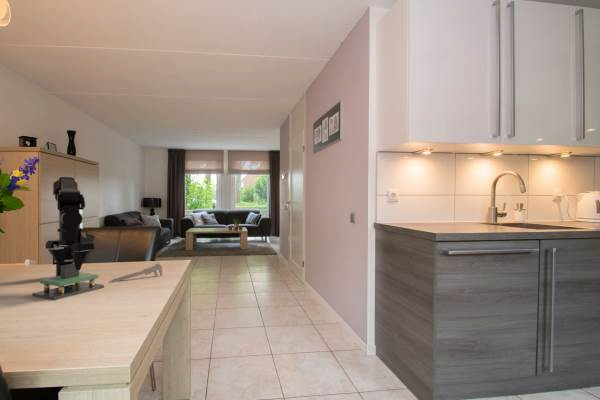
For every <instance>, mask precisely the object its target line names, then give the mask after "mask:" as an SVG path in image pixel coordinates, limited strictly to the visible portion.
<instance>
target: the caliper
mask: <svg viewBox="0 0 600 400" xmlns="http://www.w3.org/2000/svg"><path fill="white" fill-rule="evenodd" d="M157 271H158V272H159V275H160V277H162V276H163V266H162V264H160V262H157V263H154V265H153V266H149V267H146V268H143V270H140V271H136V272H132V273H131V272H130V273H129V274H124V275H121V276H118V277H114V278H112V280H109V283H117V282H121V281H125V280H127V279H130V278H131V279H132V278H135V277H138V276H141V275H145V276H147V275H150V274H152V273H153V274H154V276H155V277H158V272H157Z"/></svg>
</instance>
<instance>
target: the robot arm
mask: <svg viewBox="0 0 600 400" xmlns="http://www.w3.org/2000/svg"><path fill="white" fill-rule="evenodd" d="M52 196H54V199H55V200H56V204H57V211H58V212H59V213H58V217H59V218H58V221H59V222H58V228H57V233H58V234H59V235H58V239H51V240H47V242H45V249H47V250H48V252H49V253H50V254H51V256H52V257H51V258H52V259H51V260H52V266H53V265H55V275H54V277H57V276H61V265H67V264H75V267H76V270H79V271H80V270H81V269H82V265H83V263H84V260H85V258H86V256H87V255H88V254H89V253H90V252H92V250H95V249H96V248H95V243H94V241H95V238H96V235H94V234H90V233H87V232H85V231H84V230H83V228H81V227H80V225H81V224H82V221H83V216H82V214H81V213H80V211H79V210H82V211H83V210H84V209H85V208H86V202H85V200H86V199H85V197H84V195H83V194H82V193H81V191H80V189H79V188H78V182H76V181H75V178H74V177H72V176H61V177H58V179H57V180H56V181H54V182H53V184H52Z"/></svg>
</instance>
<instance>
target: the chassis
mask: <svg viewBox="0 0 600 400" xmlns="http://www.w3.org/2000/svg"><path fill="white" fill-rule="evenodd" d="M50 287H51V285H48V284H43V290H42V291H37V292H32V295H31V296H32V297H35V298H41V299H46V300H53V301H56V300H59V299H64V298H67V297H72V296H77V295H80V294H84V293H88V292H92V291H96V290H100V289H104V288H105V284H99V283H95V279H91V280H88V282H86V281H82V282H78V283H73V284H68V285H64V286H57V287H54V288H50Z"/></svg>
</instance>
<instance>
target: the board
mask: <svg viewBox="0 0 600 400" xmlns="http://www.w3.org/2000/svg"><path fill="white" fill-rule="evenodd" d="M91 279H94V280H95V279H99V274H97V273H95V274H94V273H86V272H80V270H76V267H75V264H74V263H73V264H67V265H61V276H57V277H55V276H52V277H47V278H42V279H39V284H42V285H44V284H48V285H50V286H53V287H55V286H56V287H59V286H67V285H72V284H75V283H78V282H80V283H81V282H86V281H89V280H91Z"/></svg>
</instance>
